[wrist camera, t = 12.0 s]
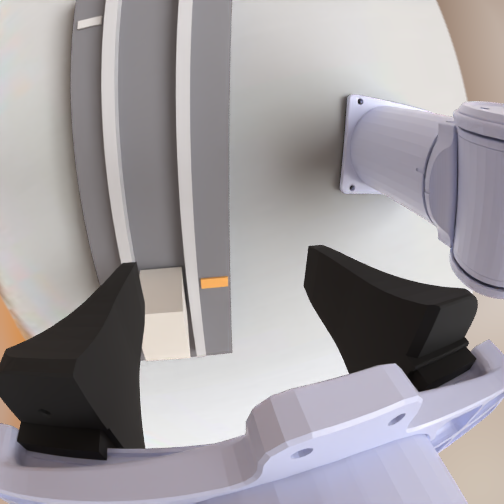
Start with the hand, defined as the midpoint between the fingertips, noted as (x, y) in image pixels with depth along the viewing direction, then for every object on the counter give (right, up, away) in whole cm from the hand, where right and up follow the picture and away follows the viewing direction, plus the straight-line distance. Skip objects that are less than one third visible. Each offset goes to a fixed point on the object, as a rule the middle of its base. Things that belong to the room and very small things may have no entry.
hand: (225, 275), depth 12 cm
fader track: (-6, +6, +8) cm, 11 cm away
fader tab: (-5, -2, +9) cm, 11 cm away
